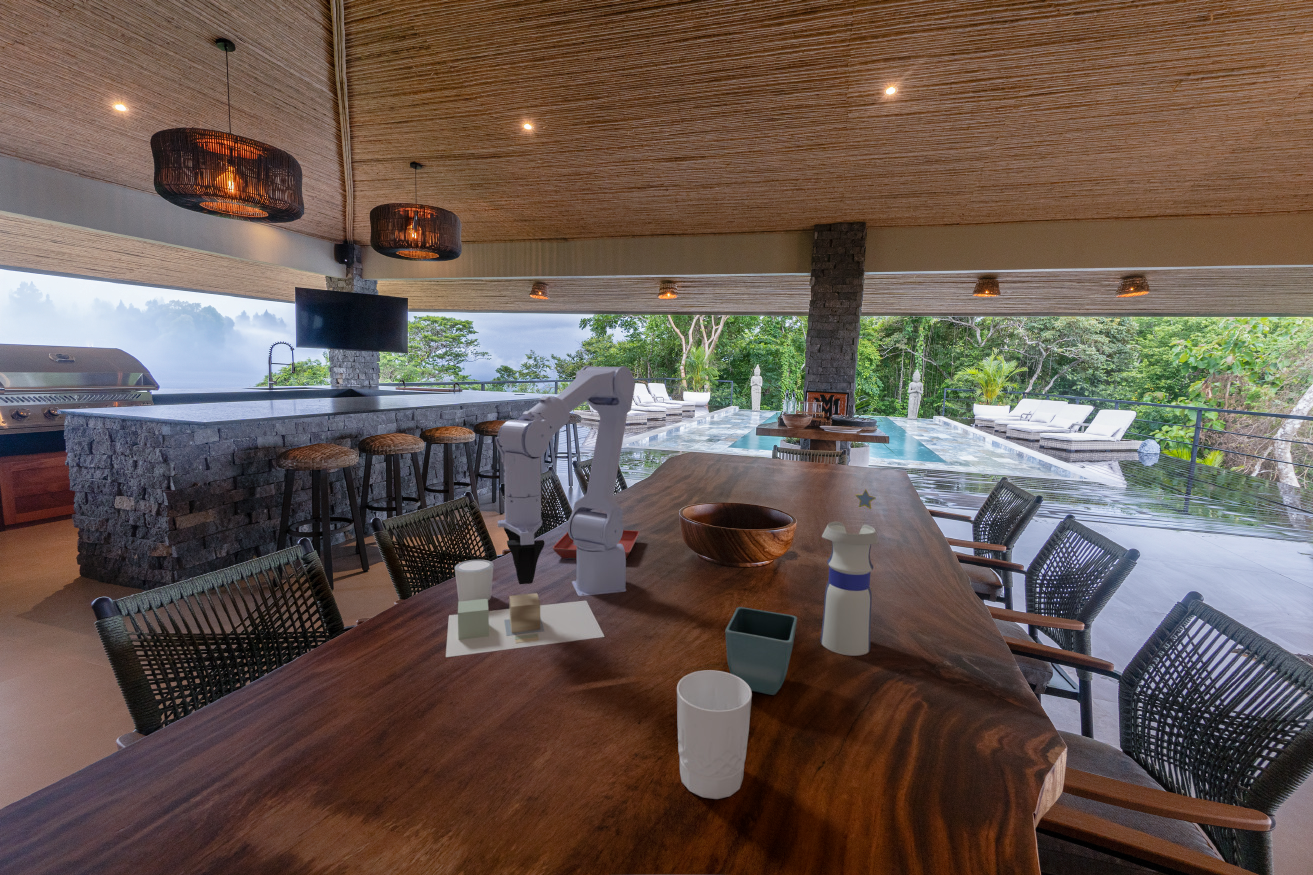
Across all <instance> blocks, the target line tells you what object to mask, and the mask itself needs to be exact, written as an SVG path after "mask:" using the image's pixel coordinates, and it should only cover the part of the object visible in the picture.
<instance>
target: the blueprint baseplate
mask: <svg viewBox="0 0 1313 875" xmlns="http://www.w3.org/2000/svg"><path fill="white" fill-rule="evenodd" d="M447 622H448V624H447V635H446V636H447V637H446V649H445V658H452V657H459V656H469V655H474V654H483V653H484V654H485V653H490V652H491V653H492V652H497V651H498V652H500V651H506V650H507V651H508V650H513V649H521V648H530V647H537V646H545V645H552V644H553V645H554V644H561V643H570V642H576V641H577V642H578V641H583V640H590V639H591V640H592V639H599V638H605V634H604V632H603V631H602V629H601V627H600V625H599V623H598V621H597V619H596V617H595V615H594V613H593V611H592V609H591V607H590V605H589V603H588V601H587V600H581V601H580V600H578V601H569V602H561V603H553V604H552V603H551V604H550V603H549V604H542V605H541V604H540V630H531V631H523V632H515V633H512V632H511V626H510V608H504V609H497V610H489V636H485V637H477V638H469V639H461V640H458V613H457V614H449V615H448V621H447Z"/></svg>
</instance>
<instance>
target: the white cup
mask: <svg viewBox="0 0 1313 875" xmlns="http://www.w3.org/2000/svg"><path fill="white" fill-rule="evenodd" d="M752 692H753V691H751V688H750V687H749V685H748V684H747V683H746V682H745V681H744V680H742V679H741V678H739V677H737V676H735V675H733V674H731V673H729V672H726V671H722V670H721V671H720V670H714V669H713V670H712V669H709V670H708V669H707V670H696V671H694V672H691V673H688V674H687V675H684V676H683V677H682V678H681V679H680V680H679V681H678V682H677V686H676V705H677V706H676V710H677V714H676V715H677V716H676V718H677V720H676V721H677V723H676V724H677V725H676V726H677V743H678V744H677V745H678V746H677V748H678V749H677V750H678V755H679V775H680V780H681V783H682V785H684V786H685V787H686V789H687V790H688V791H689V792H690V793H693V794H694V795H696V796H699V797H701V798H705V799H713V800H719V799H724V798H727V797H728V798H729V797H731V796H732V795H734V794H735V793H736V792H738V791H739V790H740V789H741V786H742V783H743V780H744V774H745V773H744V772H745V770H744V769H745V762H746V757H747V747H748V739H749V732H750V721H751V720H750V719H751V718H750V717H751V708H752V697H753V693H752Z"/></svg>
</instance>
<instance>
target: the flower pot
mask: <svg viewBox="0 0 1313 875" xmlns="http://www.w3.org/2000/svg"><path fill="white" fill-rule="evenodd" d="M797 624H798V617H797V615H792V614H787V613H780V612H773V611H767V610H763V609H762V610H761V609H755V608H751V607H750V608H749V607H744V606H738V607H736V609H735V610H734V613H733V615H732V616H731V619H730V620H729V622H728V625H727V626H726V627H725V645H726V646H725V647H726V660H727V665H728V668H729V672H730V674H733V675H735V676H737V677H739V678H741V679H742V680H744V681H745V682H746V683H747V684H748V685H749V687H750V688H751V691H752V692H757V693H762V694H765V695H771V696H775V695H776V694H777V693H778V692H779V690H780V689H781V688H782V687H783V684H784V682H785V680H786V677H787V673H788V669H789V664H790V660H791V655H792V652H793V647H794V643H795V642H794V641H795V635H796V630H797Z"/></svg>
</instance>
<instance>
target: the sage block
mask: <svg viewBox="0 0 1313 875" xmlns="http://www.w3.org/2000/svg"><path fill="white" fill-rule="evenodd" d="M489 611H490V610H489V600H488V599H479V600H469V601H459V600H458V601H457V614H458V640H461V639H469V638H477V637H485V636H489Z"/></svg>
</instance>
